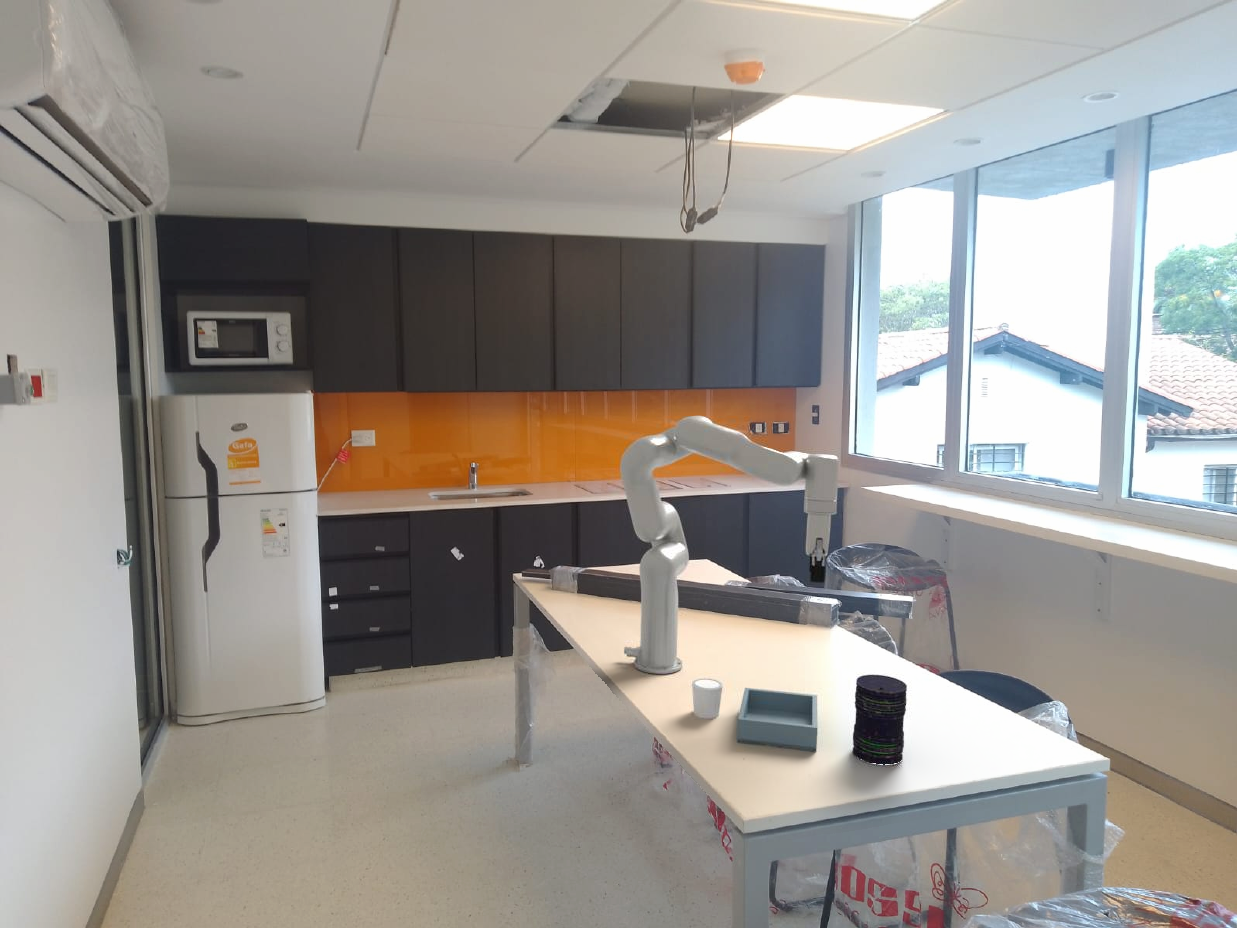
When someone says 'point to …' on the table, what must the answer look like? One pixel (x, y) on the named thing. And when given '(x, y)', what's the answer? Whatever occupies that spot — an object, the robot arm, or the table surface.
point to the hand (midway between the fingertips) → (816, 577)
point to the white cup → (706, 697)
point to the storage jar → (879, 719)
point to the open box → (778, 719)
